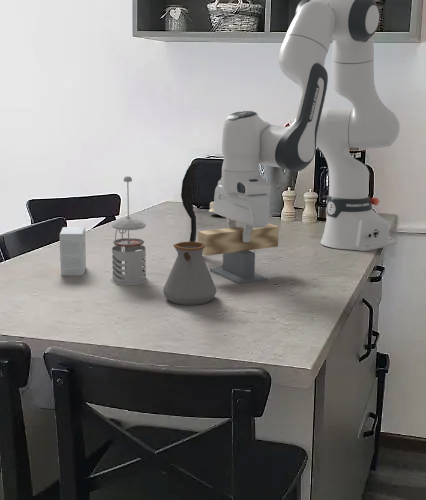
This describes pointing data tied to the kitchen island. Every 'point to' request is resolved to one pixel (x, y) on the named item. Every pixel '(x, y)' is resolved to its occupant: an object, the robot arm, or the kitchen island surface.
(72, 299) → the kitchen island surface
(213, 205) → the cake
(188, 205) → the black curved piece
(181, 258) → the coffee pot
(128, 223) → the french press
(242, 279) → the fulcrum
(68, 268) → the small box
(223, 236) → the oak bar
